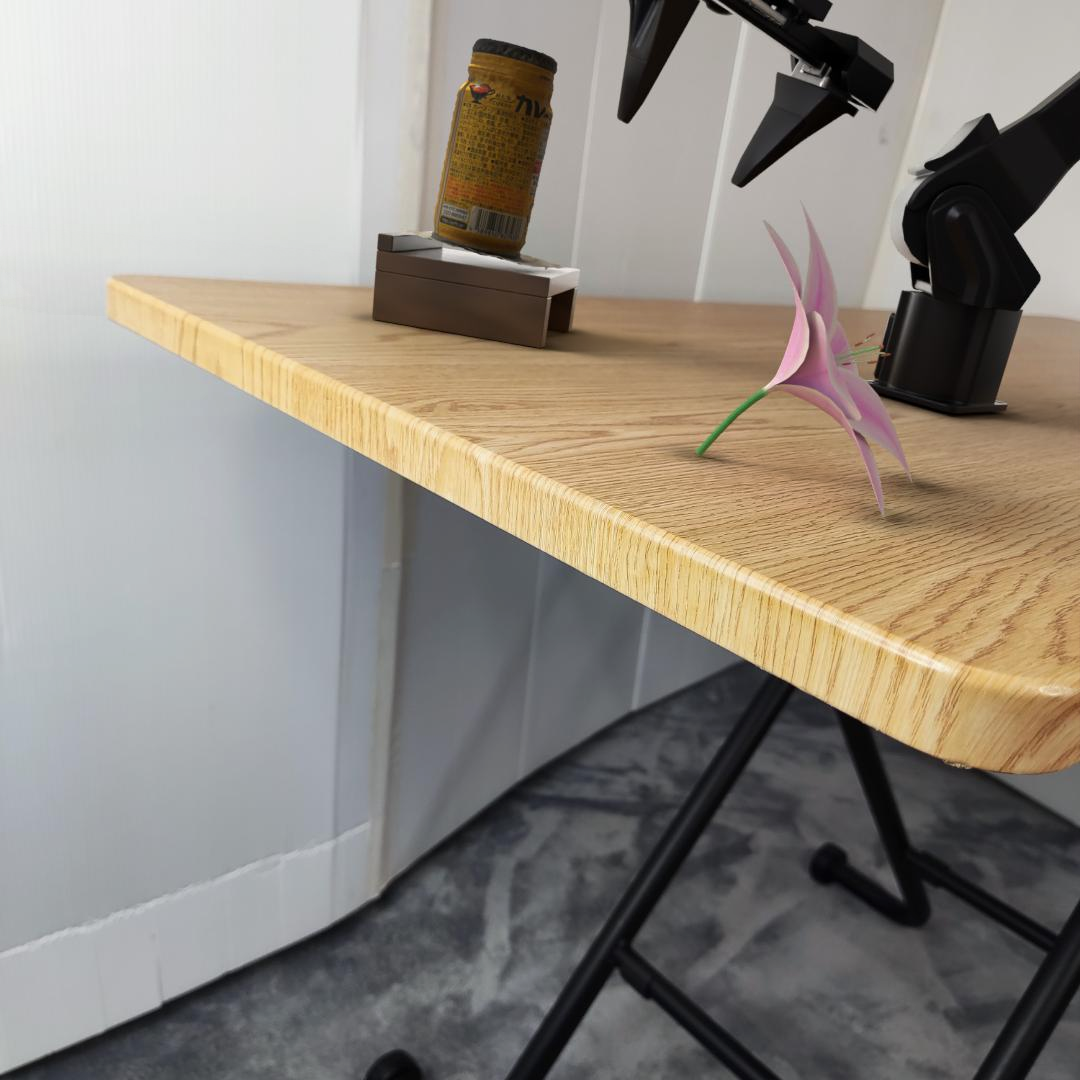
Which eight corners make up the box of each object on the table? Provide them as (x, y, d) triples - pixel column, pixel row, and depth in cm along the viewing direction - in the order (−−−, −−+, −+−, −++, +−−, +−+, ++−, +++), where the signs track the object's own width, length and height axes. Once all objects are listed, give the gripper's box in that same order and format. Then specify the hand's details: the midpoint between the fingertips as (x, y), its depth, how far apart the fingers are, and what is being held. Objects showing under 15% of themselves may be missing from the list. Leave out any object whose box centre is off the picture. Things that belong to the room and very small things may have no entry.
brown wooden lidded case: (571, 330, 67) (582, 254, 65) (540, 348, 58) (552, 260, 56) (424, 305, 69) (431, 231, 67) (371, 319, 59) (377, 233, 58)
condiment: (463, 239, 66) (500, 51, 62) (567, 271, 63) (614, 75, 58) (399, 233, 60) (436, 23, 55) (512, 268, 56) (560, 48, 52)
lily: (738, 563, 30) (973, 321, 26) (554, 345, 36) (723, 126, 33) (878, 599, 39) (1067, 422, 35) (712, 420, 45) (857, 255, 42)
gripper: (852, -44, 62) (727, 181, 69) (633, -222, 53) (510, 59, 59) (967, -26, 54) (813, 229, 60) (731, -235, 44) (575, 95, 50)
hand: (681, 154), depth 58 cm, fingers open, 9 cm apart
